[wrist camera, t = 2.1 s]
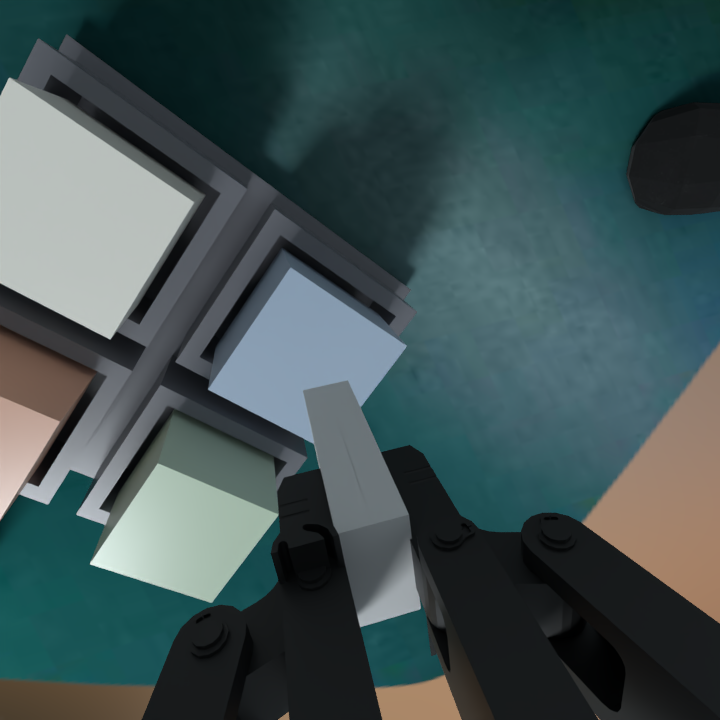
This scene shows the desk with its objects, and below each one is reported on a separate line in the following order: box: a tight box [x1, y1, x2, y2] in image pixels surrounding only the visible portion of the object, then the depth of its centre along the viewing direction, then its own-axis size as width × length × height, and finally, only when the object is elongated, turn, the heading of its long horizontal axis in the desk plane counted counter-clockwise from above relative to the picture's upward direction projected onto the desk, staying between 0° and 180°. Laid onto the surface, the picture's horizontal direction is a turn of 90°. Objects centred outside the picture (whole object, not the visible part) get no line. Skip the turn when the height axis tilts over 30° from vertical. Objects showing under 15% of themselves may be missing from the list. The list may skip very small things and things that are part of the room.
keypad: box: [0, 34, 417, 525], centre depth 24 cm, size 20×20×5 cm
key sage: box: [90, 409, 279, 603], centre depth 24 cm, size 6×6×5 cm
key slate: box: [208, 248, 407, 444], centre depth 22 cm, size 6×6×5 cm
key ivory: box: [0, 78, 206, 339], centre depth 18 cm, size 6×6×5 cm
